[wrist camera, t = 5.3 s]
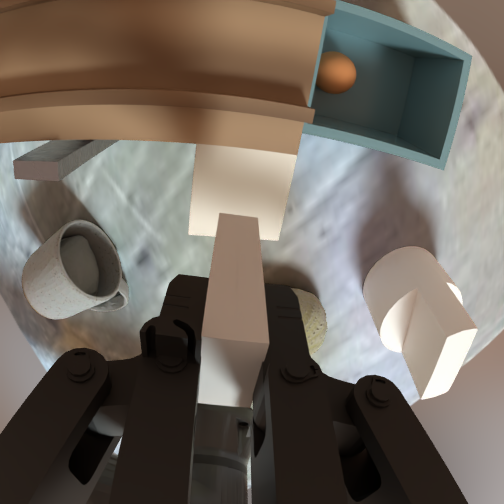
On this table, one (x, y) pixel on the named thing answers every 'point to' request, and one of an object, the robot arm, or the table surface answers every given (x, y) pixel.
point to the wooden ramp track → (171, 87)
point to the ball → (335, 73)
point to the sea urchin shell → (312, 319)
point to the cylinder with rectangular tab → (420, 316)
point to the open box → (390, 87)
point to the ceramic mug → (75, 273)
